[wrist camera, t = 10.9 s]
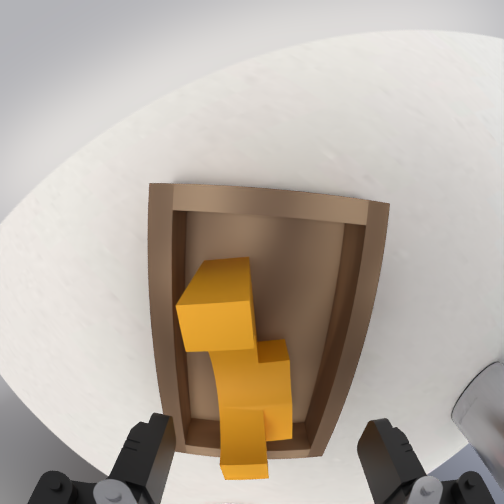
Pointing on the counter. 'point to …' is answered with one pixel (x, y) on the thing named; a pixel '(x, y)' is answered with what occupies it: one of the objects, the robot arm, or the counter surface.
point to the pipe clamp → (238, 365)
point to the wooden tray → (266, 298)
